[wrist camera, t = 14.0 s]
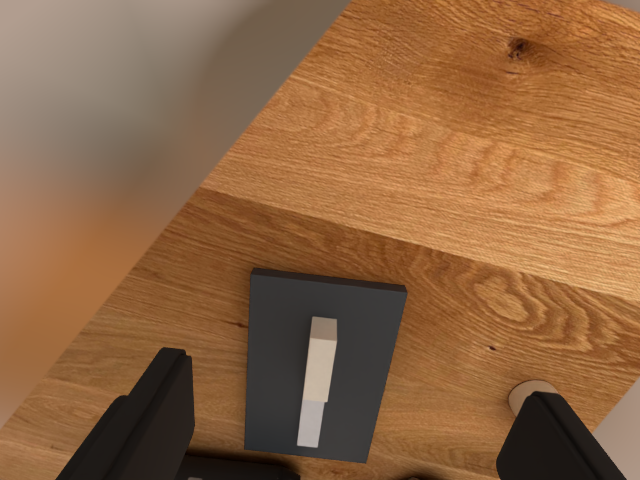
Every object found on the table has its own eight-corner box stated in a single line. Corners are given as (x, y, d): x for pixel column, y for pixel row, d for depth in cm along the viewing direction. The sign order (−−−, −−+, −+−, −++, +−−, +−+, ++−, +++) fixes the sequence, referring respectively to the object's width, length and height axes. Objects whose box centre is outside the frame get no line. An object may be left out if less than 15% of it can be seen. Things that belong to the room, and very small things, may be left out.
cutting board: (247, 438, 45) (244, 449, 44) (253, 267, 35) (250, 274, 34) (365, 452, 45) (366, 463, 44) (404, 285, 35) (407, 292, 34)
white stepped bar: (312, 315, 35) (310, 338, 32) (336, 318, 35) (336, 341, 32) (297, 440, 43) (294, 468, 39) (317, 442, 43) (316, 471, 39)
